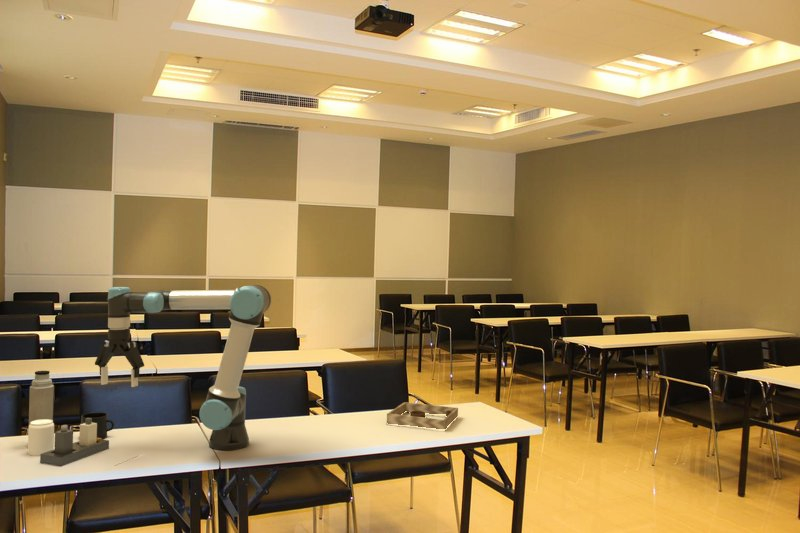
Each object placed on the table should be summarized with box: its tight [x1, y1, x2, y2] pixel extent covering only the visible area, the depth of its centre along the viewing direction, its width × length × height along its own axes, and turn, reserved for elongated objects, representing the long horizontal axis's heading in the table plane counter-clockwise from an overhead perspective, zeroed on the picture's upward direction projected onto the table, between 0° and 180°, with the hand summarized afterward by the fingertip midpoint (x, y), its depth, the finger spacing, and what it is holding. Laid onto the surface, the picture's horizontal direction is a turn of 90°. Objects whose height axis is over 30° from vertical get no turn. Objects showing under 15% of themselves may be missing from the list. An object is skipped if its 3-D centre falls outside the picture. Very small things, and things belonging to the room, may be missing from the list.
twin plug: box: [54, 424, 74, 455], centre depth 223 cm, size 4×4×12 cm
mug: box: [80, 411, 115, 440], centre depth 254 cm, size 9×12×9 cm
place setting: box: [409, 411, 452, 418], centre depth 294 cm, size 18×20×6 cm
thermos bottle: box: [28, 370, 55, 426], centre depth 242 cm, size 8×8×28 cm
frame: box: [386, 401, 459, 429], centre depth 296 cm, size 27×26×5 cm
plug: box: [78, 418, 97, 446], centre depth 233 cm, size 4×4×12 cm
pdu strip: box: [39, 438, 110, 467], centre depth 228 cm, size 22×9×5 cm, turn 162°
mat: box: [114, 455, 139, 467], centre depth 228 cm, size 12×12×1 cm
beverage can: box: [27, 419, 55, 457], centre depth 231 cm, size 8×8×12 cm
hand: (119, 385), depth 238 cm, fingers open, 13 cm apart
